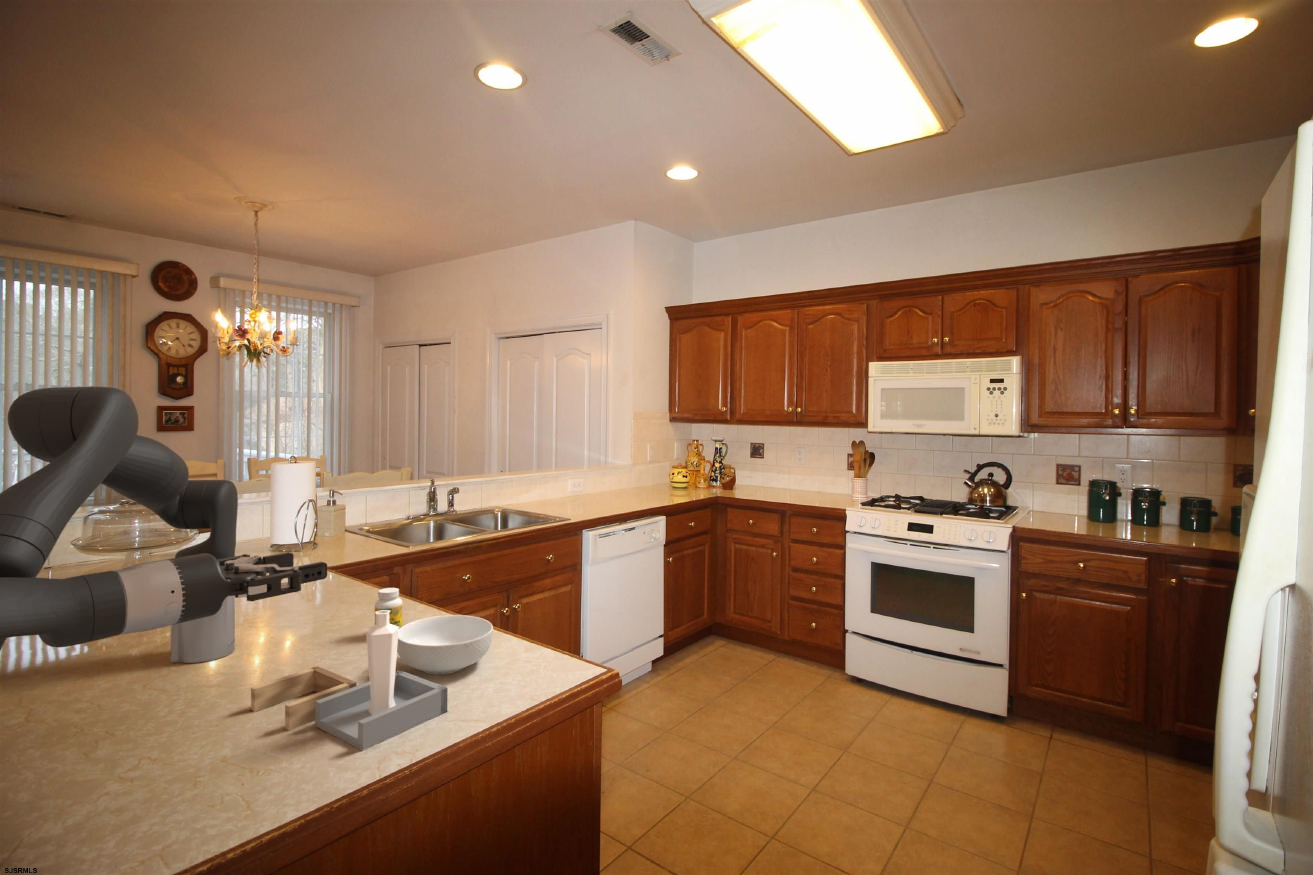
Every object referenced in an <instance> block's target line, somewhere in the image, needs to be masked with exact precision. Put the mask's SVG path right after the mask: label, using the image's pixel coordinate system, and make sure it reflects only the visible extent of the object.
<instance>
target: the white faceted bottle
mask: <svg viewBox="0 0 1313 875" xmlns="http://www.w3.org/2000/svg"><path fill="white" fill-rule="evenodd" d="M389 612H390V611H389V610H380V611H377V612H375V611H374V614H375V613H376V625H375V624H374V625H372V626H371V627H370V628H367V629H366V630H365V635H366V646H367V647H366V648H367V649H366V650H367V662H368V676H369V679H368V680H369V681H370V694H371V702H370V705H369V709H368V711H369V712H370V714H371V715H374V714H377V713H379V712H381V711H384V710H386V709H389V708H391V707H393V706H396V705H395V701H394V698H393V695H394V682H395V672H396V668H397V657H398V656H397V655H398V652H397V645H398V633H399V627H398V626H395V625H392V624H389Z"/></svg>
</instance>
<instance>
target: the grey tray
mask: <svg viewBox="0 0 1313 875" xmlns="http://www.w3.org/2000/svg"><path fill="white" fill-rule="evenodd" d="M393 698H394V701H395V705H396V706H393V707H391V708H389V709H386V710H384V711H381V712H379V713H377V714H374V715H371V714H370V712H369V711H368V709H369V705H370V702H371V694H370V680H369V681H367V682H364V683H362V684H359V685H358V684H357V686H355V687H353V688H350V689H347V690H345V691H342V692H339V693H336V694H334V695H331V696H328V697H325V698H323V699H320V700H317V701H316V705H315V721H314V722H315V727H317V728H319V729H320V730H322V731H323V732H324V731H325V732H327V733H328V734H330V735H332V736H334V737H336V738H338V739H340V740H342V741H344V742H346V743H348V744H350V745H352V746H353V747H355V748H358V749H359V750H362V751H364V750H367V749H370V748H372V747H374V746H375V745H377V744H380V743H382V742H384V741H387V740H388V739H391V738H393V737H394V736H397V735H399V734H402V733H403V732H406V731H408V730H410V729H413V728H414V727H416V726H418V725H421V724H423V723H425V722H427V721H430V720H432V719H434V718H436V717H439V716H440V715H442V714H445V713H447V712H448V687H447V686H443V685H440V684H438V683H436V682H432V681H431V680H428V679H424V678H423V677H422V678H421V677H419V676H416V675H414V674H411V673H408V672H406V671H403V670H400V669H399V670H397V671H396V670H395V682H394V695H393Z"/></svg>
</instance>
